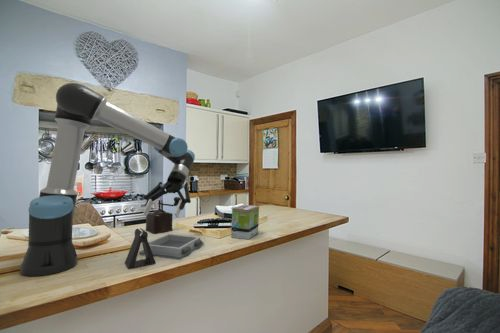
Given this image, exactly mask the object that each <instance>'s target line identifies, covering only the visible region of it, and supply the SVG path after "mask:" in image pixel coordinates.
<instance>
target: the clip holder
mask: <svg viewBox="0 0 500 333" xmlns="http://www.w3.org/2000/svg"><path fill="white" fill-rule="evenodd" d="M148 243H149V246H150V248H151V251H152V254H153V256H154V257H155V258H156V257H157V258H165V259H173V260H182V259H184V258H185V257H187V256H188V255H190V254H191V253H193V252H194V251H196V250H197V249H199V248H201V247H202V246H203V245H204V241H202V240H201V237H200V236H192V235H191V236H189V235H180V234H173V233H172V234H171V233H170V234H166V235H162V236H161V237H159V238H157V239H154V240H151V241H148ZM138 255H141V256H142V255H143V256H145V253H144V249H143V250H139V252H138Z"/></svg>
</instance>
